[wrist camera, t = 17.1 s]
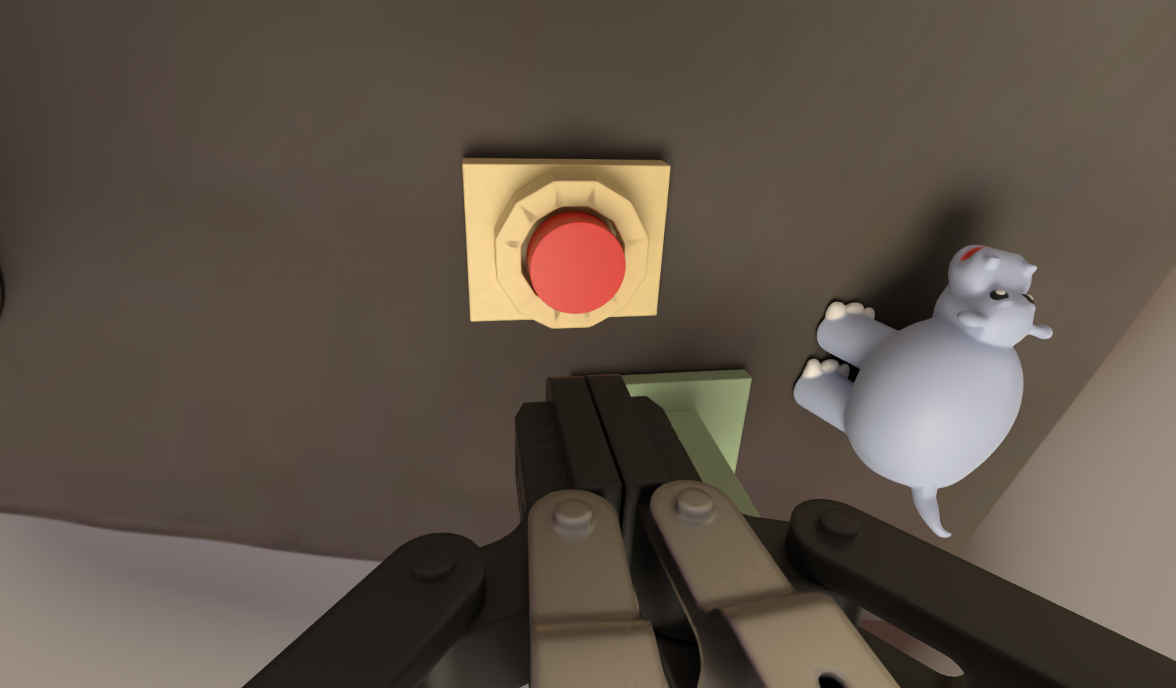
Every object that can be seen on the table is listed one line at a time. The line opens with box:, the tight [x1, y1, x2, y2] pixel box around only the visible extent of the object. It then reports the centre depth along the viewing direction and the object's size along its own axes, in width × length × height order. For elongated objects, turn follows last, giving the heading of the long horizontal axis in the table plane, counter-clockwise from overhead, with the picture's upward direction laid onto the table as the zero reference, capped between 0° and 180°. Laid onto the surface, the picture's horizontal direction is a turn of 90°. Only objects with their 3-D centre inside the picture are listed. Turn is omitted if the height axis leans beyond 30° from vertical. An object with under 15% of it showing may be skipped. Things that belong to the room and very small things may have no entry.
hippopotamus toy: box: [793, 245, 1053, 537], centre depth 34 cm, size 11×15×10 cm
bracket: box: [621, 369, 761, 518], centre depth 33 cm, size 11×9×13 cm
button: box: [526, 211, 626, 314], centre depth 28 cm, size 4×4×2 cm
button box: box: [462, 158, 671, 328], centre depth 30 cm, size 10×8×4 cm
